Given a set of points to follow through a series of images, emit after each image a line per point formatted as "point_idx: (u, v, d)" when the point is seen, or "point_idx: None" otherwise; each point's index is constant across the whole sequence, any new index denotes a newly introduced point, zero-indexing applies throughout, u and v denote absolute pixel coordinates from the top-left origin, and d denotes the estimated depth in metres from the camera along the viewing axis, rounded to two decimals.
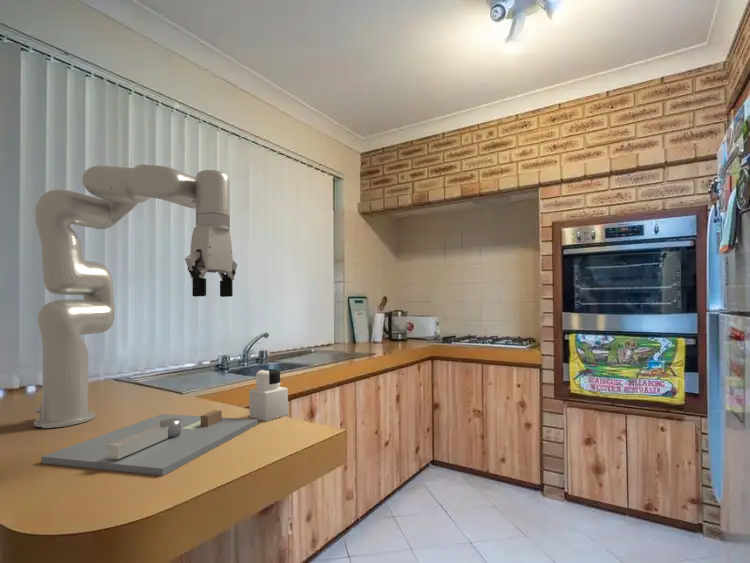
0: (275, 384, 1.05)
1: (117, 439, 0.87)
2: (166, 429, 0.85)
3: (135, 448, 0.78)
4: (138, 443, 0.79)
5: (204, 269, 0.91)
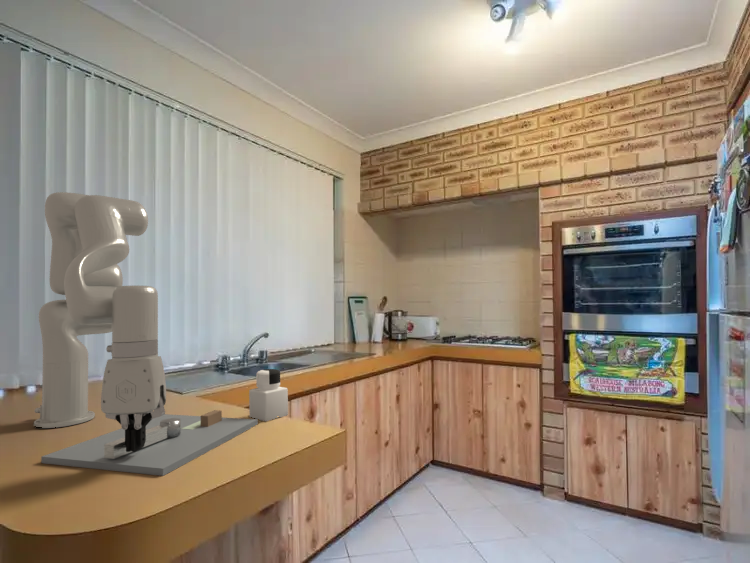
0: (275, 384, 1.05)
1: (117, 439, 0.87)
2: (165, 429, 0.85)
3: None
4: None
5: None
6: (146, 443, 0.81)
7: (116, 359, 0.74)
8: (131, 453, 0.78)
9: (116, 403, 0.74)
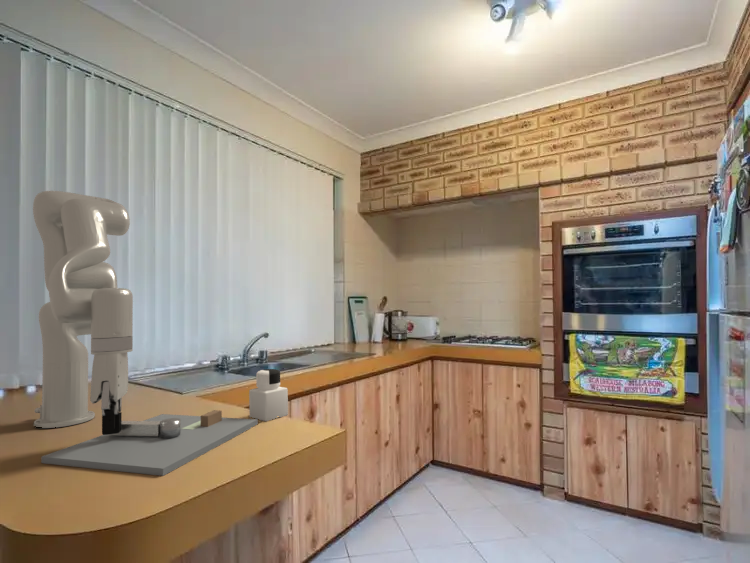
0: (275, 384, 1.05)
1: (117, 439, 0.87)
2: (156, 427, 0.87)
3: (122, 432, 0.88)
4: (125, 429, 0.88)
5: (117, 405, 0.86)
6: (136, 433, 0.88)
7: None
8: (131, 453, 0.78)
9: None
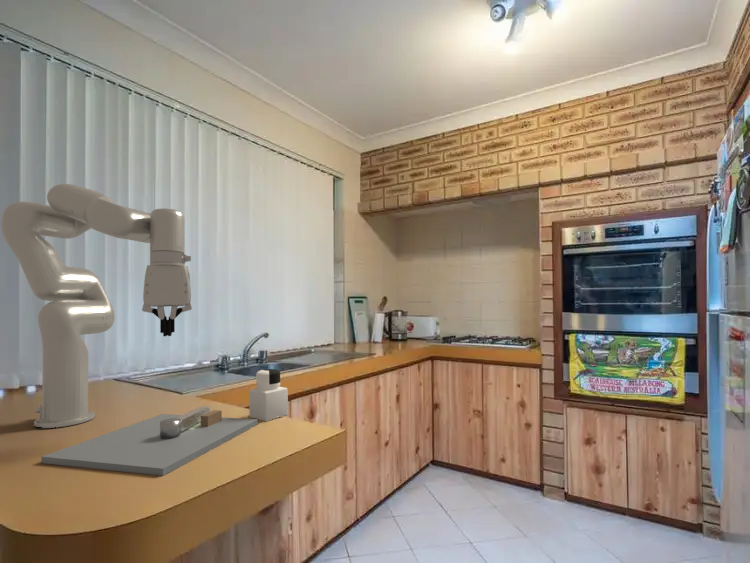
0: (275, 384, 1.05)
1: (117, 439, 0.87)
2: None
3: None
4: None
5: (158, 311, 0.97)
6: None
7: None
8: (131, 453, 0.78)
9: None
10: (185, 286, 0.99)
